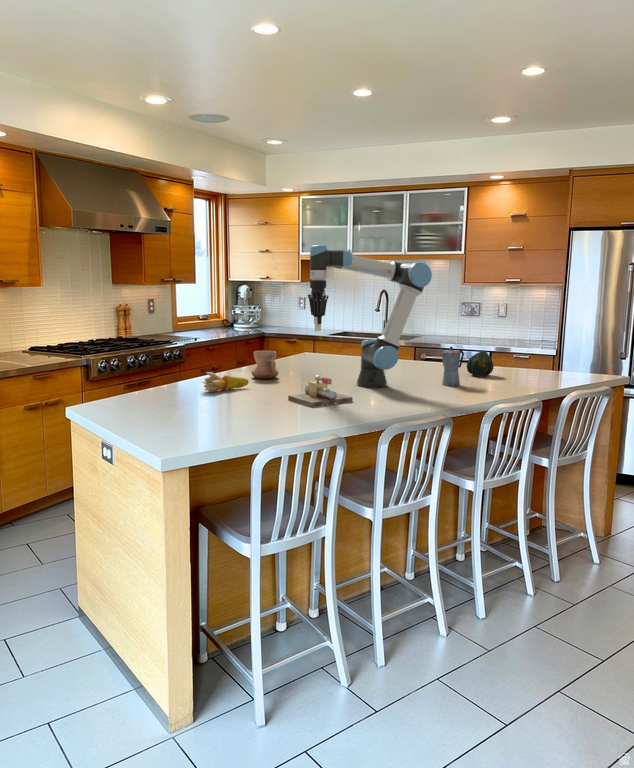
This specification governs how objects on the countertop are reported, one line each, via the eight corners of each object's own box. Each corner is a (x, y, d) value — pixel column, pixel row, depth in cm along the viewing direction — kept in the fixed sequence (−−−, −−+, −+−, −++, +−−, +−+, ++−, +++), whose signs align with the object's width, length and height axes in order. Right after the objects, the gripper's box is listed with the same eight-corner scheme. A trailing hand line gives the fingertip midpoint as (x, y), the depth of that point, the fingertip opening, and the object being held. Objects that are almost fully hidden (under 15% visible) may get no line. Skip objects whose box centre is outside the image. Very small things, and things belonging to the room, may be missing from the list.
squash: (461, 367, 346) (480, 347, 341) (462, 364, 360) (481, 346, 355) (479, 385, 344) (499, 365, 339) (480, 381, 358) (499, 363, 354)
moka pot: (434, 384, 319) (435, 346, 315) (454, 382, 328) (456, 344, 324) (448, 387, 311) (450, 348, 308) (468, 384, 320) (470, 346, 317)
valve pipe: (313, 393, 283) (313, 377, 282) (338, 400, 268) (339, 384, 267) (302, 394, 280) (302, 378, 278) (327, 401, 264) (328, 385, 263)
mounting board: (327, 394, 288) (327, 390, 287) (352, 401, 273) (352, 397, 273) (288, 399, 275) (288, 395, 274) (312, 407, 260) (312, 402, 260)
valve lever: (313, 380, 275) (314, 375, 274) (319, 379, 276) (319, 374, 275) (326, 384, 264) (326, 379, 263) (332, 384, 265) (332, 379, 265)
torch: (247, 395, 302) (203, 395, 286) (240, 386, 307) (196, 384, 291) (253, 382, 299) (208, 380, 282) (246, 372, 304) (201, 370, 287)
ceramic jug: (245, 376, 335) (245, 350, 332) (269, 374, 343) (269, 349, 340) (261, 382, 320) (261, 355, 317) (285, 380, 328) (285, 353, 325)
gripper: (303, 279, 288) (303, 330, 292) (320, 279, 277) (319, 332, 282) (316, 279, 292) (315, 329, 296) (333, 279, 282) (332, 331, 286)
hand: (317, 330), depth 289 cm, fingers closed
